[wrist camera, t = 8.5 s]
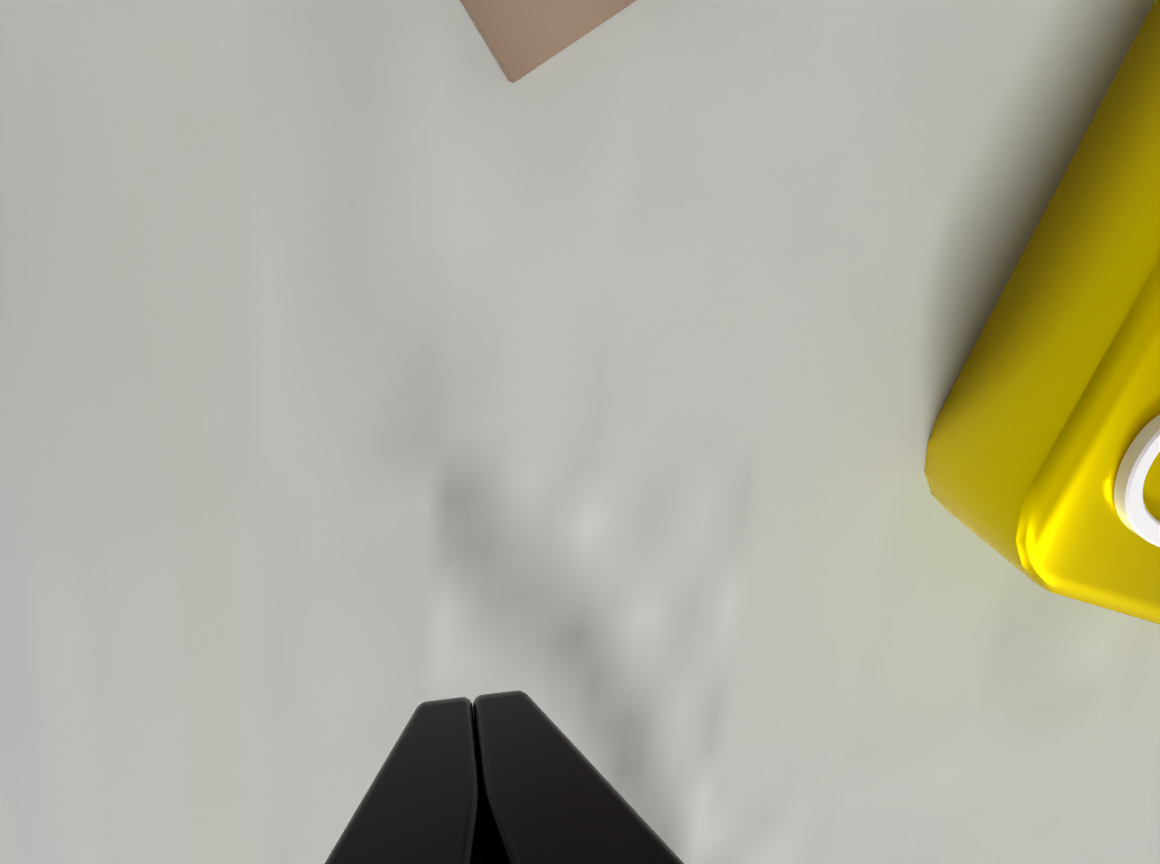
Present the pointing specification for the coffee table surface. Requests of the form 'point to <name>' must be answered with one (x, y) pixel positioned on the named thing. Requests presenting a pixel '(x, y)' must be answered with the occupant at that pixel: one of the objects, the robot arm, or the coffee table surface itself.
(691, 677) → the coffee table surface
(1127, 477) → the element tile
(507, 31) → the mounting board
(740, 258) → the coffee table surface
